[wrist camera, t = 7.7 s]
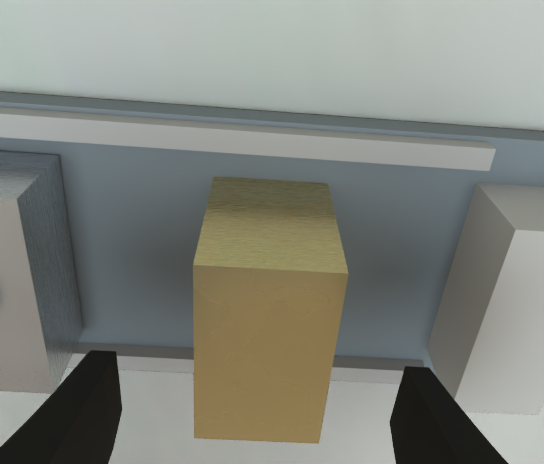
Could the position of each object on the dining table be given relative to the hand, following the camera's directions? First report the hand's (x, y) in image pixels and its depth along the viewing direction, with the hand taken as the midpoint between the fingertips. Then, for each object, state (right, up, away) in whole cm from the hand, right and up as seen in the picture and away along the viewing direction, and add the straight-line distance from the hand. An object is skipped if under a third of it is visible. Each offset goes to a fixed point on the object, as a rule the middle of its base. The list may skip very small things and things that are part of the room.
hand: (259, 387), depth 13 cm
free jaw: (-8, +3, +4) cm, 10 cm away
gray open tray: (0, +3, +6) cm, 7 cm away
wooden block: (0, +3, +5) cm, 6 cm away
